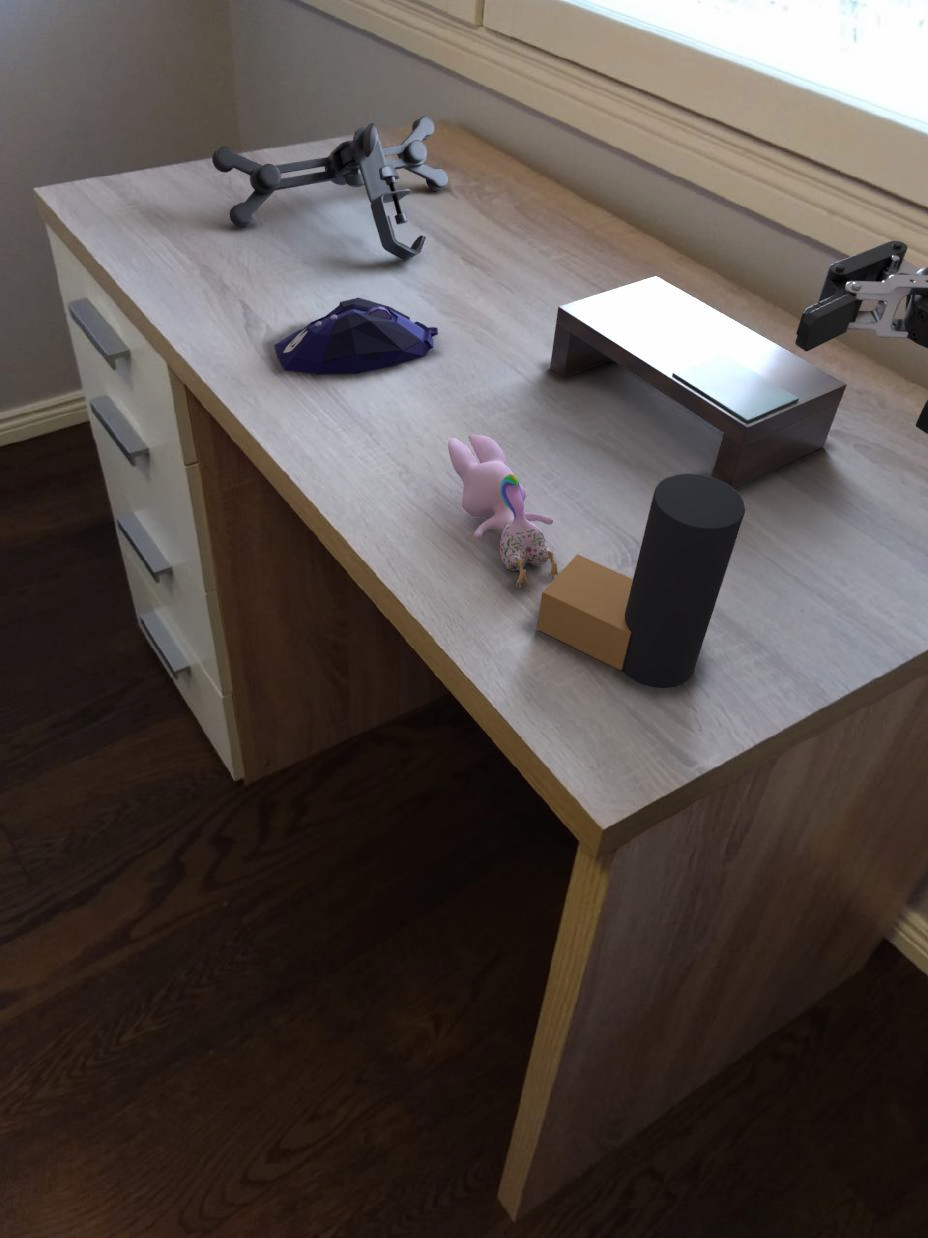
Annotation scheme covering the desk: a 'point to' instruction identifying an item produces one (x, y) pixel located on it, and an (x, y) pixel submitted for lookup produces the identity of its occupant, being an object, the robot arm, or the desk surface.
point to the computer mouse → (355, 340)
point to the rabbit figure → (500, 504)
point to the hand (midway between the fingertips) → (862, 374)
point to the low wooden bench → (705, 372)
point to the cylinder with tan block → (652, 586)
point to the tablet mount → (347, 177)
